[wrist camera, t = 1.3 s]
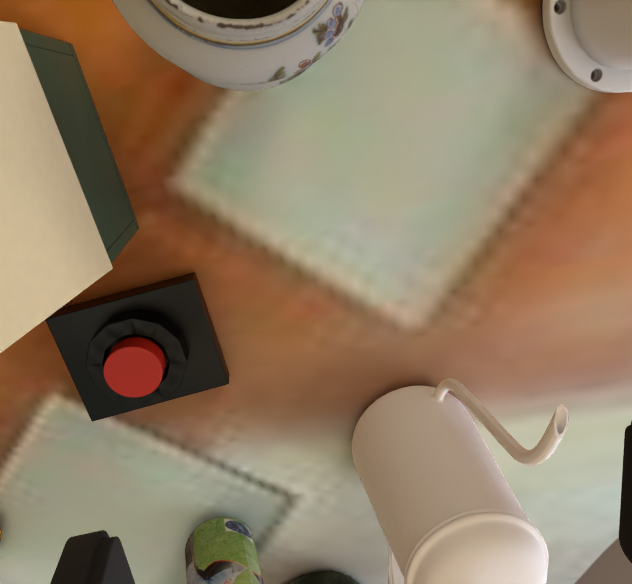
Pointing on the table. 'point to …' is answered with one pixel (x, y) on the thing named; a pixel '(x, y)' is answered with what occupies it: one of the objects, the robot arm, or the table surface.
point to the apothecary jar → (240, 36)
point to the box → (83, 138)
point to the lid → (38, 203)
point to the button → (134, 367)
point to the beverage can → (222, 554)
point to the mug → (324, 579)
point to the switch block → (148, 322)
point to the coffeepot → (448, 489)
